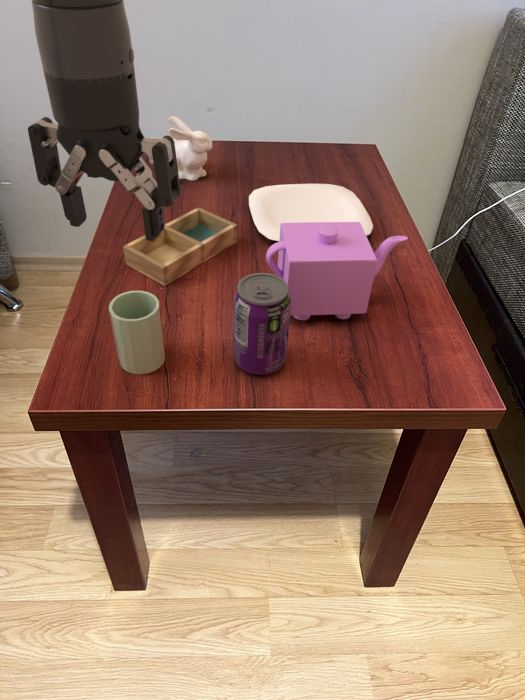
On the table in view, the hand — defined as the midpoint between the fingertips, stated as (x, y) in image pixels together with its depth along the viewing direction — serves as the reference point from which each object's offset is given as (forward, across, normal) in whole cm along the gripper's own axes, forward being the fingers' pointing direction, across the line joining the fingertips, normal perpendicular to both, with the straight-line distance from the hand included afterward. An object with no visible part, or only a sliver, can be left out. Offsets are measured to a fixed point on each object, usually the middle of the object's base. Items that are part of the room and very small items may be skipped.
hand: (116, 230), depth 57 cm
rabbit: (+21, -14, +56) cm, 61 cm away
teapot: (+21, +21, +22) cm, 37 cm away
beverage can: (+21, +15, +6) cm, 26 cm away
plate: (+21, +13, +46) cm, 52 cm away
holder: (+20, -5, +28) cm, 35 cm away
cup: (+20, 0, +2) cm, 20 cm away
